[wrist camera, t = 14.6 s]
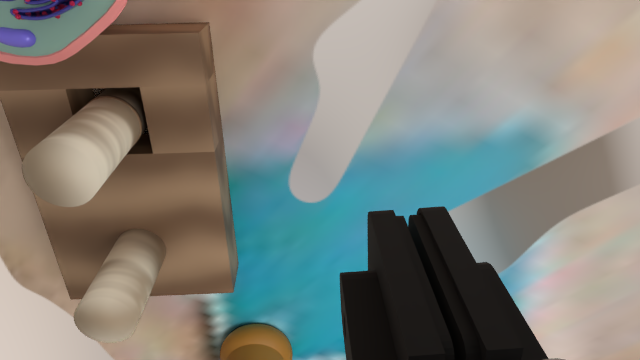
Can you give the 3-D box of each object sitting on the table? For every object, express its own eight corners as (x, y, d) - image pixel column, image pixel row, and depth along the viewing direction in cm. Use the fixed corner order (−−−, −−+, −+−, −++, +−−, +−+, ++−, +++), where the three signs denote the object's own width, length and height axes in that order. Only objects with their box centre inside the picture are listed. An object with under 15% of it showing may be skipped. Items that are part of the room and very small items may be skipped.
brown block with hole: (238, 263, 44) (220, 368, 33) (89, 269, 43) (21, 377, 33) (209, 22, 33) (168, 61, 23) (12, 27, 33) (-122, 69, 22)
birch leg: (151, 79, 35) (89, 141, 25) (160, 129, 37) (106, 206, 26) (97, 80, 35) (10, 143, 24) (109, 130, 37) (34, 208, 26)
